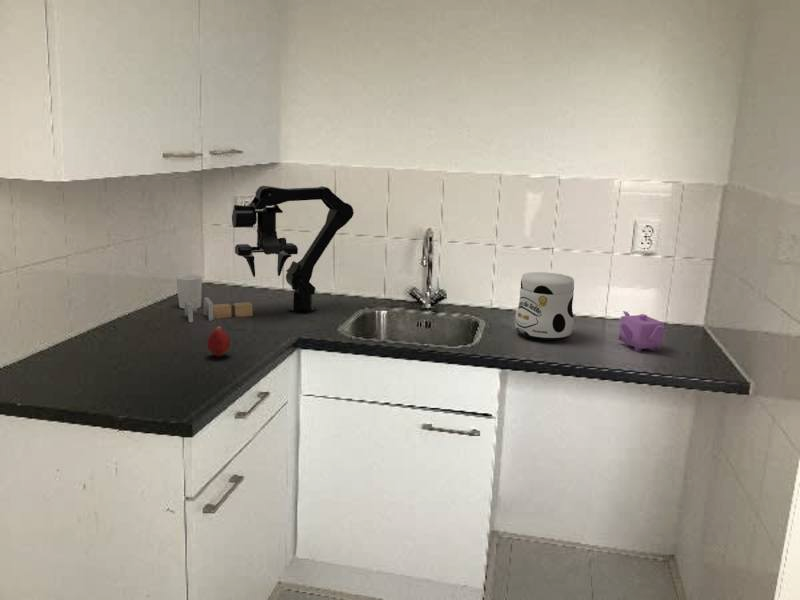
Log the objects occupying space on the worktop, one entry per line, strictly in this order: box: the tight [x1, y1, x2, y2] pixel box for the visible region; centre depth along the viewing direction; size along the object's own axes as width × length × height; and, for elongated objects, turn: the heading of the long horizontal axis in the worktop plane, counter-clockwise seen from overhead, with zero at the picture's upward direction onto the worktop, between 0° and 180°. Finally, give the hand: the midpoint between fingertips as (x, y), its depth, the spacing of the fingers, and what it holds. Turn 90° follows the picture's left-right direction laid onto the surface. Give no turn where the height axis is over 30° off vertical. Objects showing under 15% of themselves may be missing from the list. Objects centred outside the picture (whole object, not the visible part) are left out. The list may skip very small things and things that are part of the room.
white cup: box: [175, 273, 203, 310], centre depth 232 cm, size 8×8×10 cm
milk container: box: [514, 271, 575, 341], centre depth 214 cm, size 17×17×18 cm
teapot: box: [618, 310, 665, 353], centre depth 206 cm, size 18×13×10 cm
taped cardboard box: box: [213, 301, 254, 320], centre depth 224 cm, size 12×4×4 cm, turn 115°
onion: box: [206, 326, 231, 358], centre depth 184 cm, size 6×6×8 cm
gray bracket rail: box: [184, 296, 214, 323], centre depth 221 cm, size 7×11×5 cm, turn 25°
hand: (266, 276), depth 226 cm, fingers open, 8 cm apart
